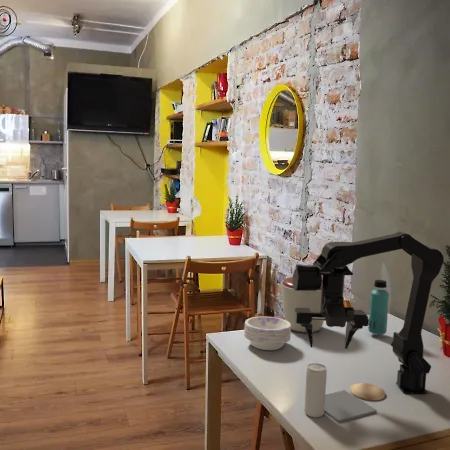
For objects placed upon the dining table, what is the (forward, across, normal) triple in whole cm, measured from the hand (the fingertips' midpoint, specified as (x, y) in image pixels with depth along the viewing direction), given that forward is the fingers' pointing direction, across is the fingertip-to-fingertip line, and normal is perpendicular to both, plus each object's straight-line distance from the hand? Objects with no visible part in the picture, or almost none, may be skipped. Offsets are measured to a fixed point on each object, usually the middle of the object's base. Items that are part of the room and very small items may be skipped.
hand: (328, 347), depth 140 cm
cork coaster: (+12, +11, -1) cm, 16 cm away
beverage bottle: (+12, +26, +44) cm, 53 cm away
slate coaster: (+12, +2, -9) cm, 15 cm away
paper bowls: (+12, -13, +32) cm, 37 cm away
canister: (+12, +1, +50) cm, 52 cm away
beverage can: (+12, -5, -13) cm, 19 cm away
